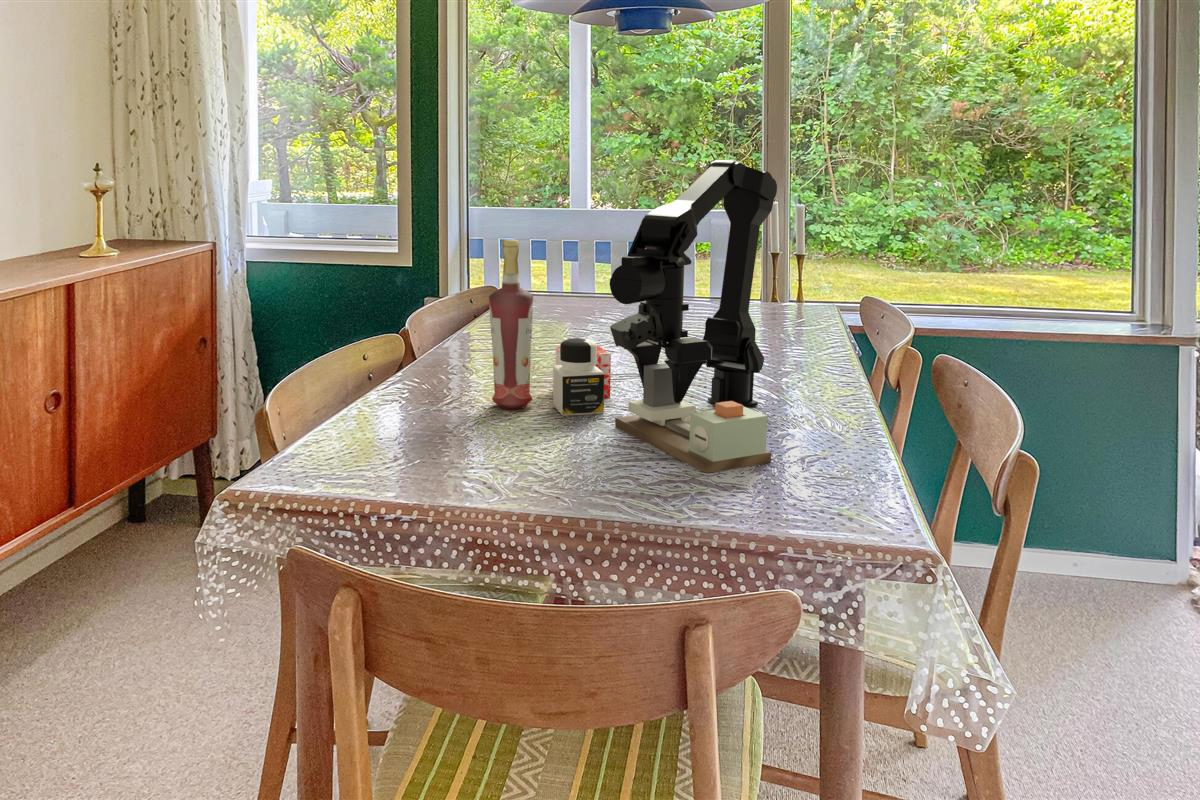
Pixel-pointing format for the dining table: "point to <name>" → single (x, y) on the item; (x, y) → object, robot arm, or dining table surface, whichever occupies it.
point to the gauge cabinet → (727, 435)
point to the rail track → (681, 443)
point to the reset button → (728, 409)
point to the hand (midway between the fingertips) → (662, 395)
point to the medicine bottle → (578, 379)
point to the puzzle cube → (598, 366)
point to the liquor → (511, 334)
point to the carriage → (659, 397)
